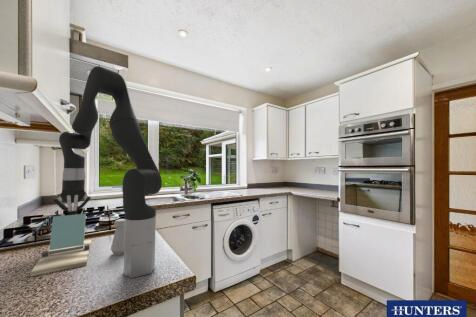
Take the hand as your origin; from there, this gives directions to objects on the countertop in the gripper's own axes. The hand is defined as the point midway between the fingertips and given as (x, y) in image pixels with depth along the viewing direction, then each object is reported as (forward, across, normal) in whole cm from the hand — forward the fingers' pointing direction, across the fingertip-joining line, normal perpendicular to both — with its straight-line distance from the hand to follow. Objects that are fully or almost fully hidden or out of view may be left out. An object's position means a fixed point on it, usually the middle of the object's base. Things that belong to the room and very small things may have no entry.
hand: (72, 219), depth 87 cm
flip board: (+11, 0, -11) cm, 15 cm away
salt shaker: (+11, +17, -19) cm, 28 cm away
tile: (+3, 0, -8) cm, 9 cm away
